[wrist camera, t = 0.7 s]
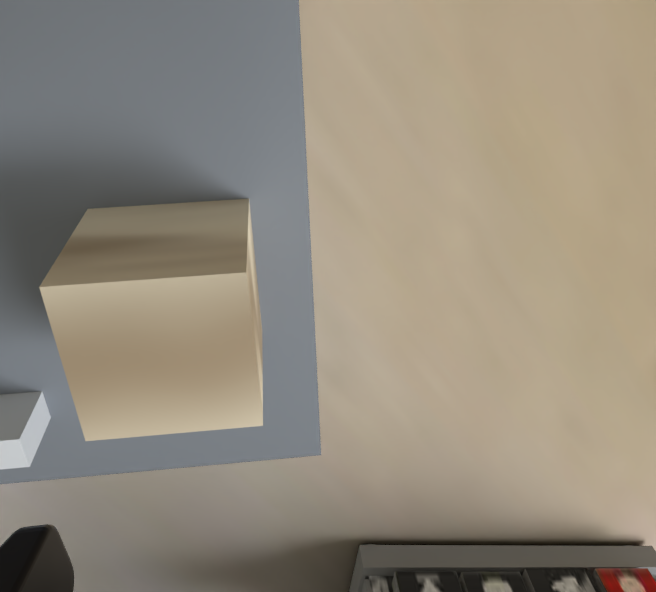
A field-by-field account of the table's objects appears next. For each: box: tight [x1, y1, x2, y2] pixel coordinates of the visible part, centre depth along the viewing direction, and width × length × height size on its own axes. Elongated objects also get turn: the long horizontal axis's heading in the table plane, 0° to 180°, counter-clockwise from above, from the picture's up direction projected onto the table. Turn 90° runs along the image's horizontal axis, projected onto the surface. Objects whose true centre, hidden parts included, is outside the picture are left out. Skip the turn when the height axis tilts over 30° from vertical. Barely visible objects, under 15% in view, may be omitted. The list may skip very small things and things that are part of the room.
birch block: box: [39, 199, 263, 441], centre depth 15 cm, size 4×4×4 cm
